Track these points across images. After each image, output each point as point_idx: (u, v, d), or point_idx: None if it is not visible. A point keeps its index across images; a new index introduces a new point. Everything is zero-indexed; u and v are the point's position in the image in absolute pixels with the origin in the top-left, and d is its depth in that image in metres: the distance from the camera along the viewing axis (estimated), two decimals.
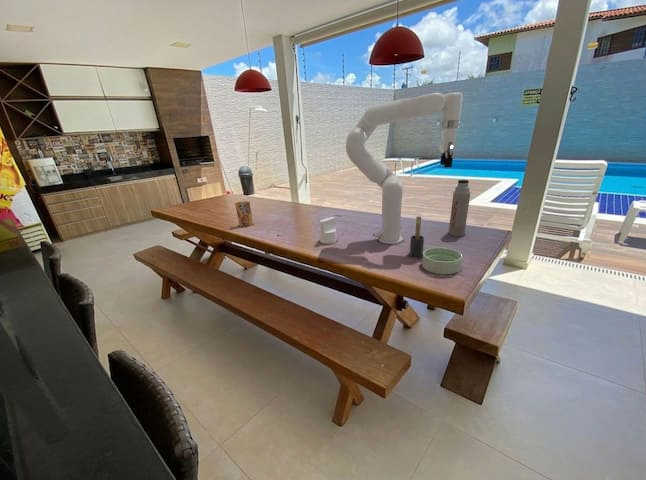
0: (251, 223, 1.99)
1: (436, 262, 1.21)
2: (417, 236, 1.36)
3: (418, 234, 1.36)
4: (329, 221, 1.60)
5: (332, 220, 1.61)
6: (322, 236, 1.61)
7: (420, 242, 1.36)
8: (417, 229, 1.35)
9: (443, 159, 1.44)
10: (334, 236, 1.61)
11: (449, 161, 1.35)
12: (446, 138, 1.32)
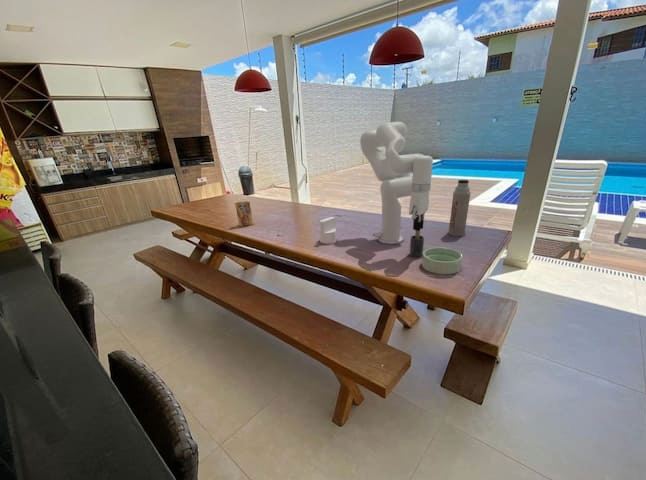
0: (251, 223, 1.99)
1: (436, 262, 1.21)
2: (417, 236, 1.36)
3: (418, 234, 1.36)
4: (329, 221, 1.60)
5: (332, 220, 1.61)
6: (322, 236, 1.61)
7: (420, 242, 1.36)
8: None
9: None
10: (334, 236, 1.61)
11: (416, 225, 1.33)
12: (411, 201, 1.28)
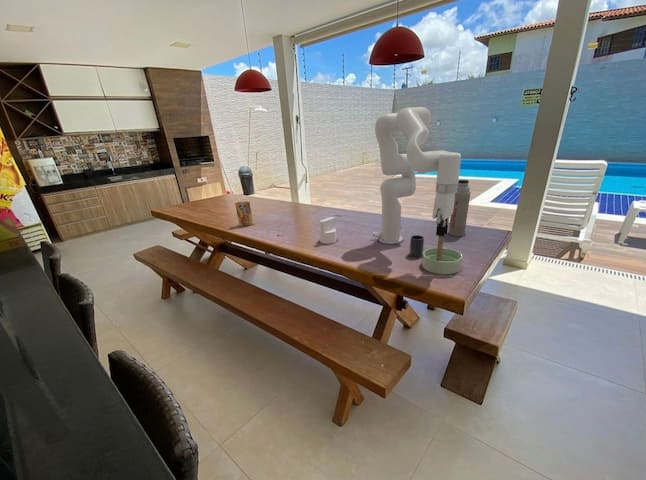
0: (251, 223, 1.99)
1: (436, 262, 1.21)
2: (440, 242, 1.22)
3: (442, 240, 1.22)
4: (329, 221, 1.60)
5: (332, 220, 1.61)
6: (322, 236, 1.61)
7: (420, 242, 1.36)
8: None
9: None
10: (334, 236, 1.61)
11: (440, 230, 1.19)
12: (435, 203, 1.14)
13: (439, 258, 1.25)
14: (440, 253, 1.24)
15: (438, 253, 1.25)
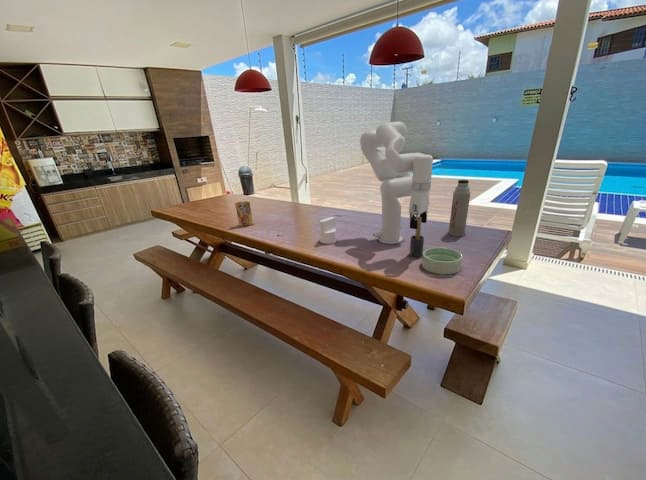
0: (251, 223, 1.99)
1: (436, 262, 1.21)
2: (417, 236, 1.36)
3: (418, 234, 1.36)
4: (329, 221, 1.60)
5: (332, 220, 1.61)
6: (322, 236, 1.61)
7: (420, 242, 1.36)
8: (417, 229, 1.35)
9: None
10: (334, 236, 1.61)
11: (413, 223, 1.30)
12: (411, 200, 1.28)
13: None
14: None
15: None
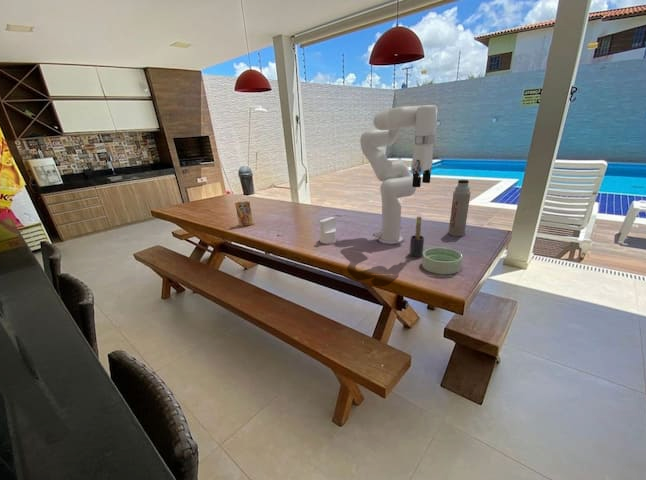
0: (251, 223, 1.99)
1: (436, 262, 1.21)
2: (417, 236, 1.36)
3: (418, 234, 1.36)
4: (329, 221, 1.60)
5: (332, 220, 1.61)
6: (322, 236, 1.61)
7: (420, 242, 1.36)
8: (417, 229, 1.35)
9: (424, 177, 1.30)
10: (334, 236, 1.61)
11: (416, 180, 1.22)
12: (414, 155, 1.20)
13: None
14: None
15: None
